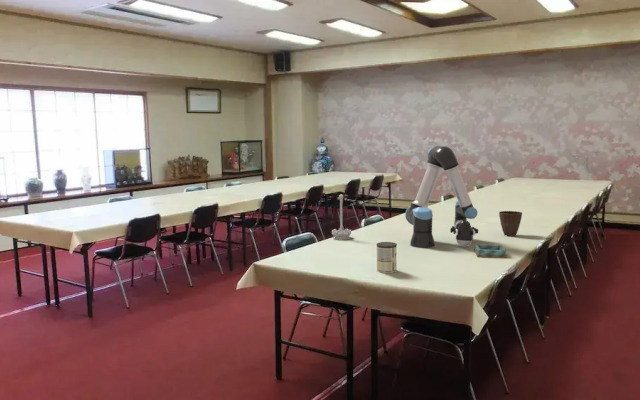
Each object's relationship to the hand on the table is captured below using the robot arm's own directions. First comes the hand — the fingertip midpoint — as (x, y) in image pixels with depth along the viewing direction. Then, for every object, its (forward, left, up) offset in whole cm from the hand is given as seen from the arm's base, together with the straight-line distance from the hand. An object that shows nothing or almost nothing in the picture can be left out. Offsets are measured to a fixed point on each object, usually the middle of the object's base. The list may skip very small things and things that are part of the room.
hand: (465, 233), depth 321 cm
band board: (+13, -11, -10) cm, 20 cm away
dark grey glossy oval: (0, +4, -8) cm, 9 cm away
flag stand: (-79, +29, -11) cm, 85 cm away
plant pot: (+35, +50, -10) cm, 62 cm away
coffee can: (-45, -56, -10) cm, 72 cm away
